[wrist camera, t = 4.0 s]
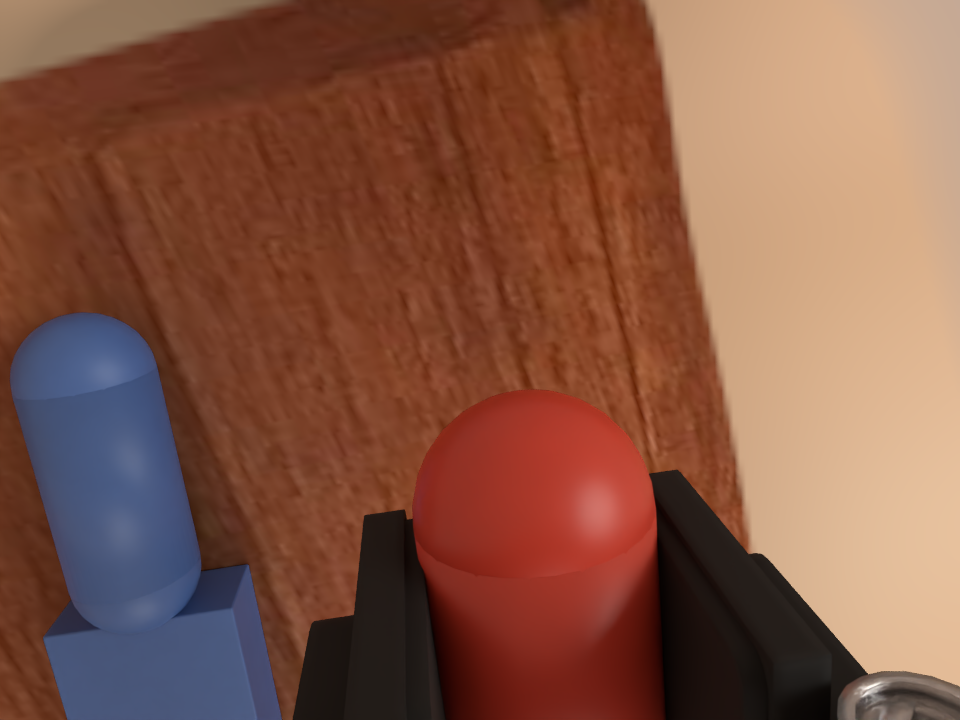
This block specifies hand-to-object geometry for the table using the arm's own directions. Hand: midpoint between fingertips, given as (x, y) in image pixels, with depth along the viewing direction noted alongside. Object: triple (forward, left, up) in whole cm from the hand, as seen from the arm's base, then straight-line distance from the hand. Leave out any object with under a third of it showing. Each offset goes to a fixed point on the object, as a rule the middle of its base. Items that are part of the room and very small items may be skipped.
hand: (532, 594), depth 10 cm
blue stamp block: (+3, -8, -9) cm, 12 cm away
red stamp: (+3, 0, 0) cm, 3 cm away
